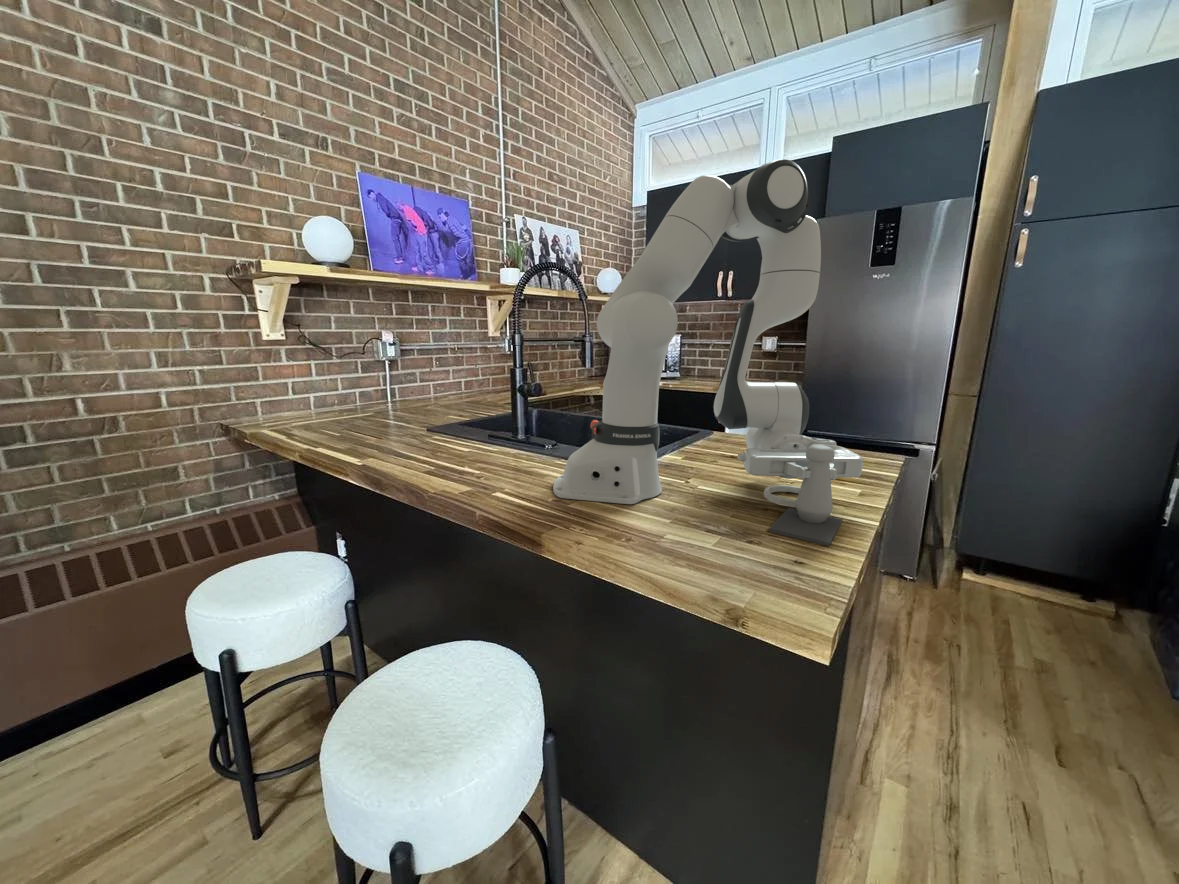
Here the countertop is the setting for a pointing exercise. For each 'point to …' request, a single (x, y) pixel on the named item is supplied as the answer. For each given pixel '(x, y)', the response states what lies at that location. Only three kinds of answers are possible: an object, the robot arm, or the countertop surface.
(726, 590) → the countertop surface
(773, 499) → the ceramic ring
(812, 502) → the salt shaker
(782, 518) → the rubber mat
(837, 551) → the countertop surface
